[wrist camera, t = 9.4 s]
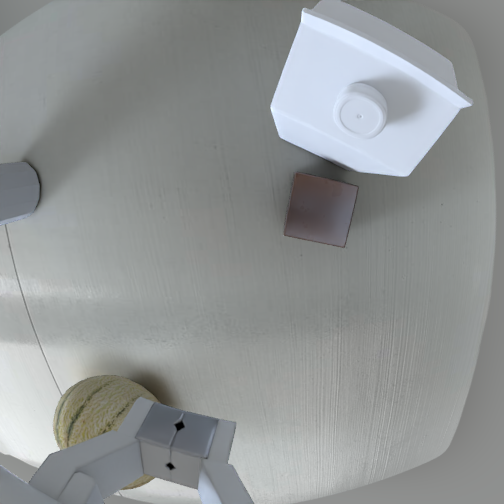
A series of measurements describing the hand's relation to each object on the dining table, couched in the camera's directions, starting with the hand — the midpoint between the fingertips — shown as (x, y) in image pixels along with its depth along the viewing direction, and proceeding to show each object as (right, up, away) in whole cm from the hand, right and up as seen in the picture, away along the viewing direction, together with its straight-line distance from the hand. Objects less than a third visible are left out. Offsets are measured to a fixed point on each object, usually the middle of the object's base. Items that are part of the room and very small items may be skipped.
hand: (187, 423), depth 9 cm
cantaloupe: (-14, -14, +30) cm, 36 cm away
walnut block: (+8, +10, +21) cm, 24 cm away
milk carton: (+9, +17, +19) cm, 27 cm away
